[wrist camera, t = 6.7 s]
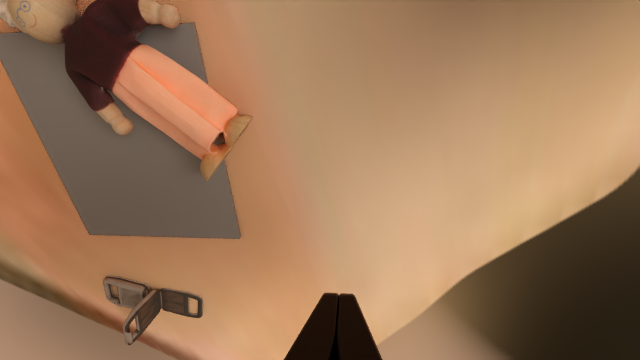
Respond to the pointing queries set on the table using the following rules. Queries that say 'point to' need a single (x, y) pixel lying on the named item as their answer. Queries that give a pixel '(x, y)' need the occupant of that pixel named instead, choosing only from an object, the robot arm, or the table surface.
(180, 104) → the grandmother figurine
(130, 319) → the strap clip
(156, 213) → the mat
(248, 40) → the table surface
